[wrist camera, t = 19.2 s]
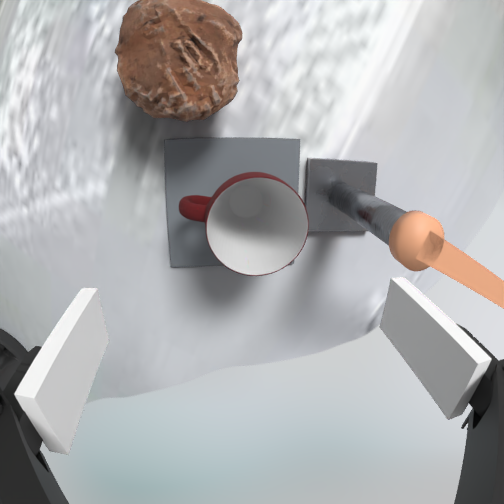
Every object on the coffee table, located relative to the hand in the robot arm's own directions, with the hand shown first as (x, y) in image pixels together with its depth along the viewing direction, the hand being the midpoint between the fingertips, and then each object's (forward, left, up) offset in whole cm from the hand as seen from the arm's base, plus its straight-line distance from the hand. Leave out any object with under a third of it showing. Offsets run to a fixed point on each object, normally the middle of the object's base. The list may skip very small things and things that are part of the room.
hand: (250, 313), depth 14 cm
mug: (+1, 0, -22) cm, 22 cm away
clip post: (+12, +1, -22) cm, 25 cm away
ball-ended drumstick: (+19, -2, -9) cm, 21 cm away
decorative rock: (-5, +15, -22) cm, 27 cm away
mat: (0, 0, -22) cm, 22 cm away
